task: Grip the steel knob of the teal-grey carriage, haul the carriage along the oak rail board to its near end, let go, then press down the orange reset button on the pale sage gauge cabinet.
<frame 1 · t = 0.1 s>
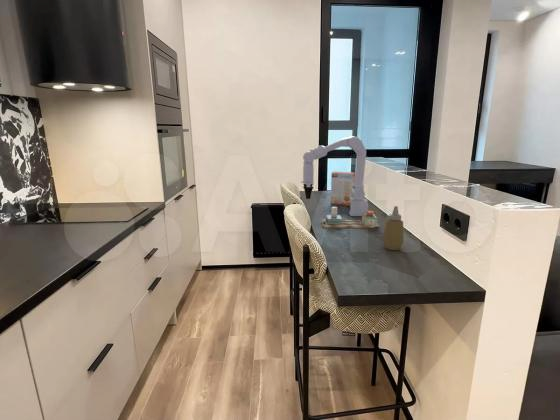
hand: (308, 197, 185), 10 cm above the table, tool pointing down, fingers open, 7 cm apart
cracker box: (342, 204, 209), on the table
squeeze bottle: (392, 248, 135), on the table
rail track: (349, 224, 167), on the table
reset button: (369, 215, 165), point 5 cm above the table, slide at 0.0 cm
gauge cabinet: (369, 224, 166), resting on rail track
carriage: (334, 214, 166), point 5 cm above the table, slide at 0.0 cm
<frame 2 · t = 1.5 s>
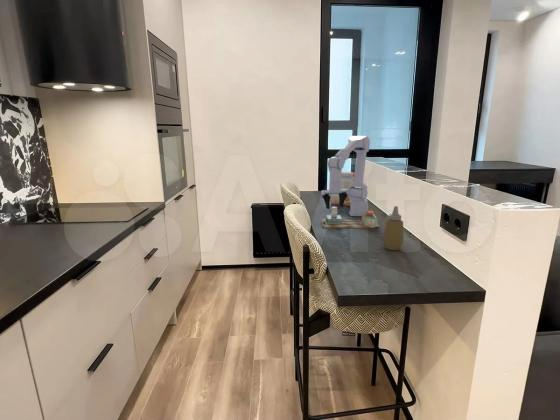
hand: (334, 207, 165), 9 cm above the table, tool pointing down, fingers open, 7 cm apart
nothing on the table moved.
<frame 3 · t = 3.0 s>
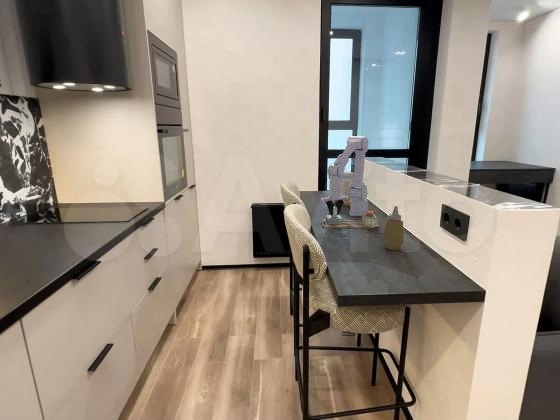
hand: (334, 214, 166), 5 cm above the table, tool pointing down, fingers closed on carriage, 3 cm apart
carriage: (334, 214, 166), point 5 cm above the table, slide at 0.0 cm, touching gripper
everything else where it was.
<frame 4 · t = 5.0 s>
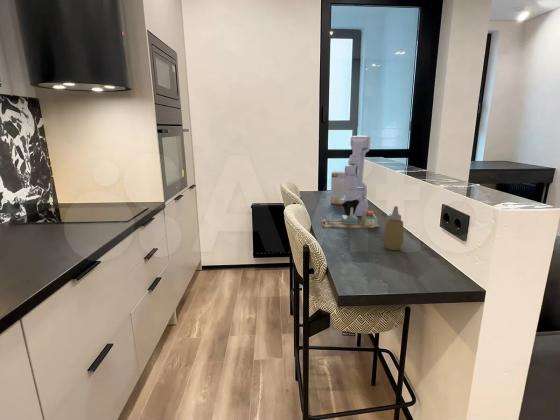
hand: (349, 214, 166), 5 cm above the table, tool pointing down, fingers closed on carriage, 3 cm apart
carriage: (349, 214, 166), point 5 cm above the table, slide at 8.0 cm, touching gripper
everything else where it was.
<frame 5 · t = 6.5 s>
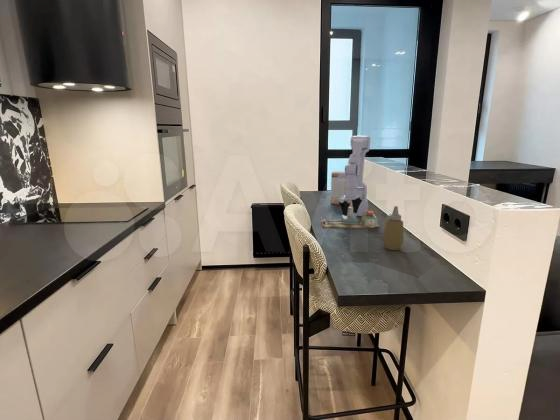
hand: (350, 214, 165), 6 cm above the table, tool pointing down, fingers open, 7 cm apart
carriage: (349, 214, 166), point 5 cm above the table, slide at 8.0 cm
everything else where it was.
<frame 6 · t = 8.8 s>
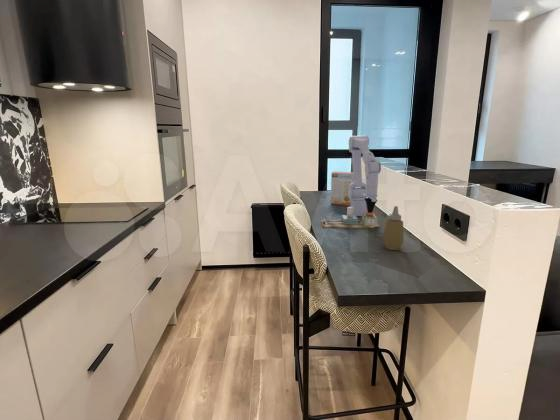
hand: (369, 212, 165), 7 cm above the table, tool pointing down, fingers closed, pressing on reset button
reset button: (369, 216, 165), point 5 cm above the table, slide at 0.3 cm, touching gripper
everything else where it was.
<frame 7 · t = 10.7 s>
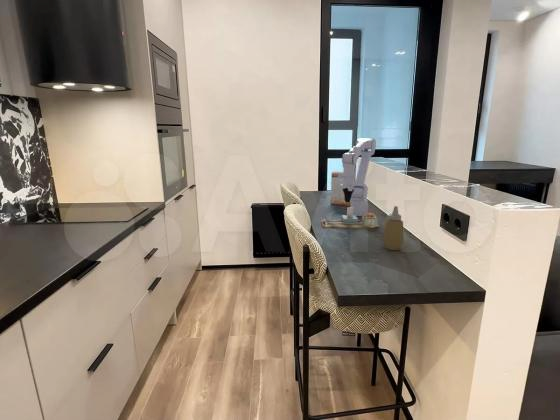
hand: (347, 202, 171), 10 cm above the table, tool pointing down, fingers closed
reset button: (369, 217, 165), point 4 cm above the table, slide at 1.1 cm
everything else where it was.
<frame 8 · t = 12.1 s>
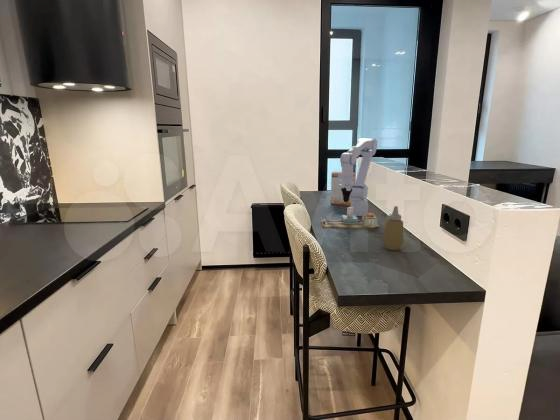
hand: (345, 201, 172), 10 cm above the table, tool pointing down, fingers closed
nothing on the table moved.
at the end: carriage slide at 8.0 cm; reset button slide at 1.1 cm; the gripper is holding nothing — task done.
